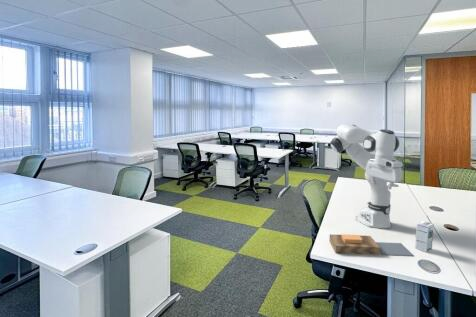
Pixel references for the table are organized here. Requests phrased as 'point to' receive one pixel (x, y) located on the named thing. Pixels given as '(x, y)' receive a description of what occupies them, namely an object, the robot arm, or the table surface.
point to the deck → (355, 245)
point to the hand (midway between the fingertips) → (381, 186)
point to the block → (351, 238)
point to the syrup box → (424, 236)
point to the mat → (393, 249)
